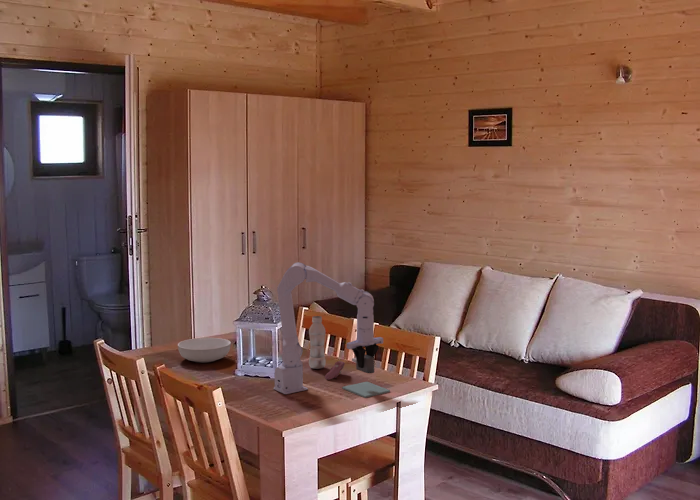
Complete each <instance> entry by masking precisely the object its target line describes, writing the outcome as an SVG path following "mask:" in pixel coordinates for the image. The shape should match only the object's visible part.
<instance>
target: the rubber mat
mask: <svg viewBox="0 0 700 500" xmlns="http://www.w3.org/2000/svg"><path fill="white" fill-rule="evenodd" d="M341 388H342V389H343V390H345V391H347V392H350V393H352V394H354V395H357V396H360V397H362V398H370V397H374V396H379V395H383V394H386V393H387V394H388V393H391V390H390V389H387V388H385V387H382V386H380V385H377V384H374V383H372V382H370V381H363V382H359V383H354V384H349V385H345V386H342V387H341Z"/></svg>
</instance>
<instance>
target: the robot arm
mask: <svg viewBox="0 0 700 500" xmlns="http://www.w3.org/2000/svg"><path fill="white" fill-rule="evenodd" d="M304 281H305V283H317V284H319V285H322V286H323V287H325V288H327V289H330V290H332V291H334V292H335V293H336V296H337V298H339V299H341V300H344V301H345V302H347V303H349V304H351V305H353V306H356V308H357V315H356V339H355V340H353V341H349V342H346V349H348V350H351V351H352V352H353V354H354V356H355V358H356V359H357V363H358V367H360V368H363V367H364V356H365V354H366V355H369V356H372V357H374V358H375V357H376V353H378V351H379V349H380V348H379V345H378V344H380V345H382V344H384V337H381V336H379V337H378V336H377V337H374V335H375V333H374V332H375V331H374V329H375V328H374V326H375V325H374V322H375V321H374V318H375V317H374V306H375V300H374V296H373V295H372V294H371V293H370V292H369V291H365V290H364V289H363V288H362V289H359V288H357V287H355V286H354V285H353V283H352V282H351V281H348V282H347V281H344V282H343V281H342V282H338V281H337V280H336V279H333V278H332V277H330V276H328V275H327V274H325V273H324V272H321V271H319V270H318V269H316V268H314V267H312V266H310V265H306V264H305V263H303V262H299V261H298V262H294V263H293V264H291V266H290V267H288V269H287V270H286V271H285V272H284V274H283V276H282V277H281V280H280V282H279V283H278V285H277V290H276V291H277V299H278V308H279V313H280V314H279V315H280V316H279V317H280V322H281V323H280V324H281V331H282V339H283V340H282V348H283V349H282V351H283V352H282V354H281V361H282V362H281V365H280V366H278V367H277V366H276V368H275V369H274V387H273V390H275V391H277V392H279V393H281V394H283V395H289V394H292V393H294V394H295V393H298V392H302V391H304V392H305V391H308V390H309V388H308V387H306V386H304V378H303V377H304V374H303V373H304V372H303V371H304V369H303V366H304V365H303V361H302V360H301V357H302V355H303V347H302V346H301V345H300V341H299V338H298V334H297V333H298V332H297V325H296V317H295V309H294V308H295V307H294V301H293V295H292V291H293V290H294V289H295V288H296V287H297V286H299V285H300V284H302V283H303V282H304Z"/></svg>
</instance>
